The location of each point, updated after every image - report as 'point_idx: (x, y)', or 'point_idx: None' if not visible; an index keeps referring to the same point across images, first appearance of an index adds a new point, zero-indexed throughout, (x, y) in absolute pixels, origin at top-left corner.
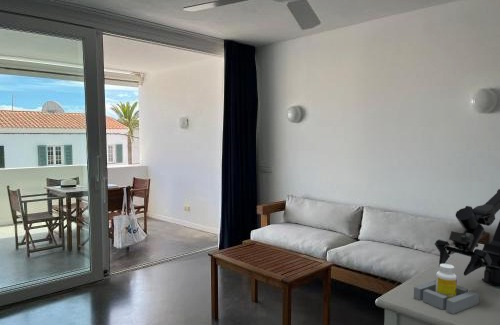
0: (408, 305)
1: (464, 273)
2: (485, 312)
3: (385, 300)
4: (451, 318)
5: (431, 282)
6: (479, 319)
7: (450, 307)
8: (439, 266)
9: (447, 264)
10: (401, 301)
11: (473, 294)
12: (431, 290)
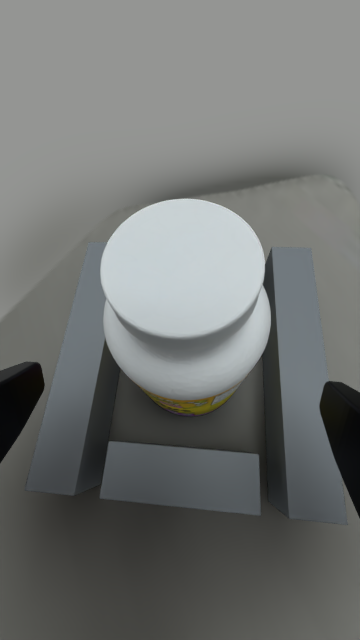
0: (250, 211)
1: (25, 363)
2: None
3: (324, 183)
4: (97, 241)
5: (318, 394)
6: (18, 311)
7: None
8: (329, 382)
9: (205, 309)
10: (289, 217)
11: (45, 424)
12: (270, 352)
